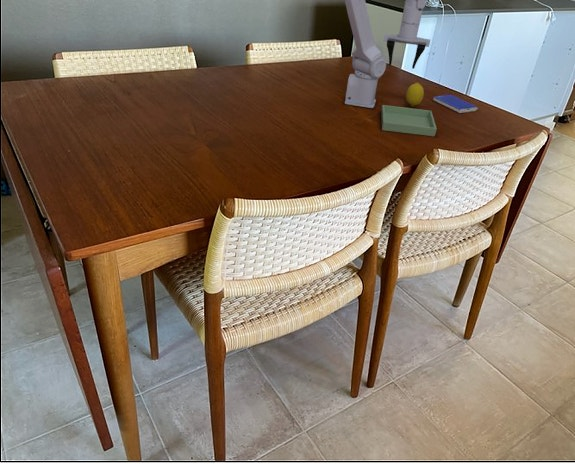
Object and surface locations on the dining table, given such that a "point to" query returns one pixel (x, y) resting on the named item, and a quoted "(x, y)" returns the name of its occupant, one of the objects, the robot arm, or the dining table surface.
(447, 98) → the hard drive
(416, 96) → the lemon
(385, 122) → the tray
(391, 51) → the robot arm
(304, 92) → the dining table surface
